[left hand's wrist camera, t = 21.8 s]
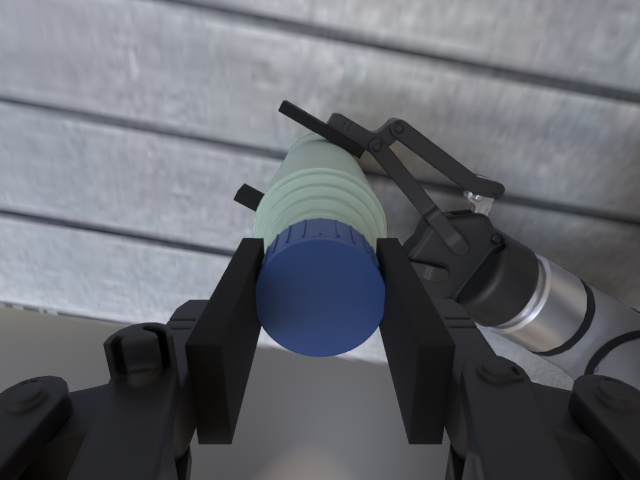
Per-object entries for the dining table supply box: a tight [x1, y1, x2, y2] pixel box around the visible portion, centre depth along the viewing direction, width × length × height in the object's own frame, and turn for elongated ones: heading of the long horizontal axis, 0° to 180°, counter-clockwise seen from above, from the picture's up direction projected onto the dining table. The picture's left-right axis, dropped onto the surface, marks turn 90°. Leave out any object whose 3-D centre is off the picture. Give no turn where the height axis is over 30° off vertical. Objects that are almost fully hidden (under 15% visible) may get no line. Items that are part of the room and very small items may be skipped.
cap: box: [255, 218, 385, 357], centre depth 13 cm, size 4×4×2 cm
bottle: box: [253, 133, 387, 254], centre depth 24 cm, size 6×6×24 cm
